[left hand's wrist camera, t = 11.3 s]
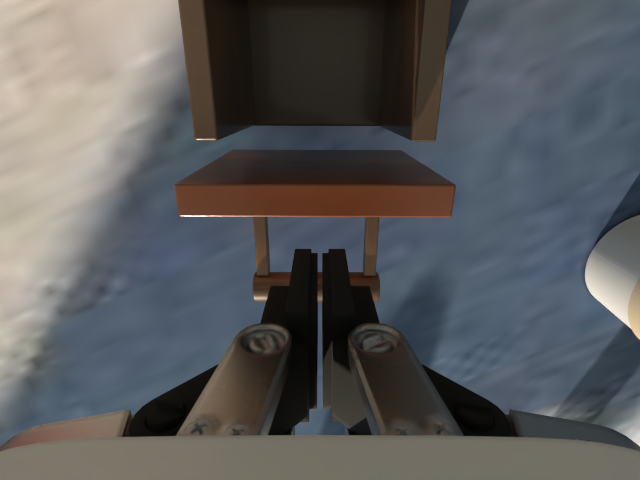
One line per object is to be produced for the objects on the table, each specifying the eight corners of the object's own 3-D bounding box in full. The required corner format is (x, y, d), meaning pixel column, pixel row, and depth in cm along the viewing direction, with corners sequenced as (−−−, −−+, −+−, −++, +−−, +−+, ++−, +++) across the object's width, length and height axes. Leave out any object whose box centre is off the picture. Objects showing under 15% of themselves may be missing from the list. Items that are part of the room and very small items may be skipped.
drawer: (392, 264, 23) (432, 355, 15) (241, 263, 23) (198, 354, 15) (437, -280, 15) (593, -779, 6) (196, -281, 15) (32, -784, 6)
